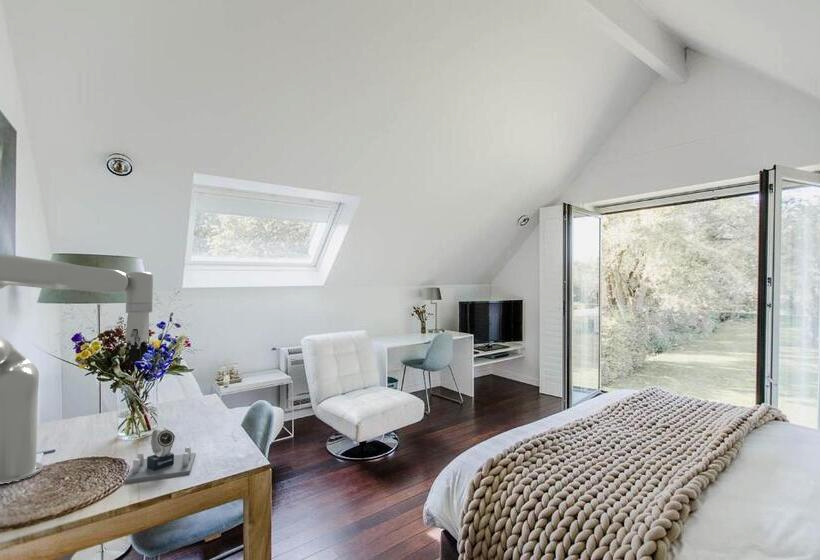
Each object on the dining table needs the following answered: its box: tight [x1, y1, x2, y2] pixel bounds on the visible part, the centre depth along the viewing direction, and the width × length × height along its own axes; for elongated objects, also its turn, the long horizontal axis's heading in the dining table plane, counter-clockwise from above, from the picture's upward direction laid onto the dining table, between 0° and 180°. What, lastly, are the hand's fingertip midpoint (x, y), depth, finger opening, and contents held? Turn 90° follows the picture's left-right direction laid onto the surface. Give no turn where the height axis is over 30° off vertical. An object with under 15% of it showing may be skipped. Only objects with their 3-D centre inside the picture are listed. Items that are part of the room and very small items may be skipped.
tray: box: [124, 446, 196, 484], centre depth 123 cm, size 16×14×4 cm
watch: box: [146, 427, 176, 471], centre depth 123 cm, size 6×8×11 cm
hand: (138, 358), depth 138 cm, fingers open, 9 cm apart
